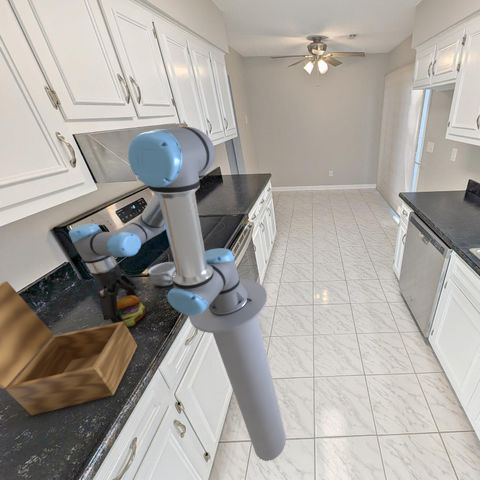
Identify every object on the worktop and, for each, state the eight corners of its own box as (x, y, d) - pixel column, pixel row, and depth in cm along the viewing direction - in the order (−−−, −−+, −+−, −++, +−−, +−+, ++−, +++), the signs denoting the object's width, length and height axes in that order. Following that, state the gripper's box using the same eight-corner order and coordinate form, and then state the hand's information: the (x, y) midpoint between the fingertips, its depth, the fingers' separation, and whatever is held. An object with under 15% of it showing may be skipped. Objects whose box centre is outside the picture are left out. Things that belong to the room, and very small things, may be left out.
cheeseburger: (113, 334, 89) (101, 309, 86) (119, 321, 98) (108, 299, 95) (146, 321, 93) (136, 297, 91) (149, 310, 103) (139, 288, 100)
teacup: (151, 282, 116) (145, 267, 113) (176, 272, 123) (171, 258, 119) (159, 296, 107) (152, 280, 103) (185, 284, 113) (180, 269, 110)
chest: (137, 345, 84) (123, 321, 79) (113, 395, 69) (94, 368, 64) (71, 360, 80) (52, 335, 75) (31, 415, 66) (5, 389, 61)
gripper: (109, 252, 96) (132, 297, 105) (69, 292, 74) (102, 343, 84) (131, 249, 97) (151, 293, 107) (98, 287, 76) (127, 338, 85)
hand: (130, 315), depth 95 cm, fingers open, 12 cm apart
